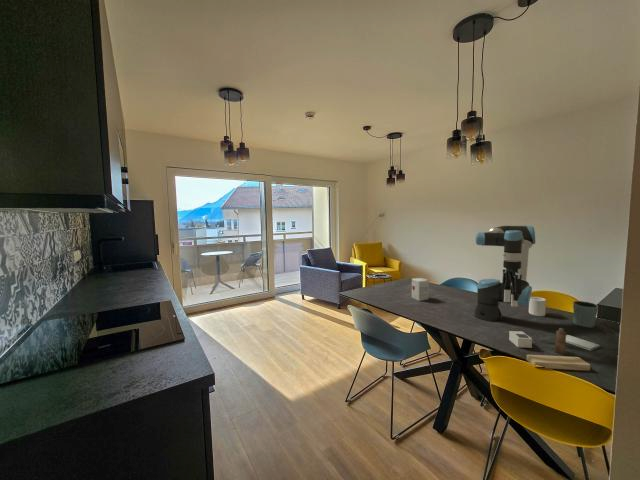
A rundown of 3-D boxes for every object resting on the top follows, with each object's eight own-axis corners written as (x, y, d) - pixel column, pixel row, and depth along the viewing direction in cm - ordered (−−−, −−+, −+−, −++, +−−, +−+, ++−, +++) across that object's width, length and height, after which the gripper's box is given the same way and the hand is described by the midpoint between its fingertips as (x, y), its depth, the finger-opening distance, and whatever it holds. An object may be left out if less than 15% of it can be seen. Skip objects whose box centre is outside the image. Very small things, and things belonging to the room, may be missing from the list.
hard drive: (600, 344, 128) (568, 334, 140) (590, 348, 125) (558, 337, 137) (600, 348, 128) (568, 337, 140) (590, 352, 125) (558, 340, 137)
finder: (509, 339, 138) (509, 330, 137) (522, 340, 137) (522, 330, 136) (517, 347, 130) (518, 337, 129) (531, 347, 129) (532, 338, 128)
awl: (553, 350, 126) (554, 326, 125) (561, 351, 126) (562, 327, 124) (558, 354, 123) (559, 330, 122) (566, 355, 122) (568, 330, 121)
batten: (526, 359, 119) (526, 354, 119) (578, 362, 116) (578, 357, 116) (534, 367, 113) (535, 361, 113) (589, 370, 110) (590, 364, 110)
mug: (551, 313, 170) (552, 298, 169) (540, 317, 165) (541, 301, 164) (537, 309, 177) (537, 295, 176) (525, 312, 172) (526, 297, 171)
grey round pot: (578, 319, 159) (579, 300, 158) (601, 326, 150) (602, 305, 149) (567, 322, 156) (569, 302, 155) (590, 329, 146) (592, 308, 145)
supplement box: (411, 297, 210) (411, 278, 208) (420, 296, 212) (421, 277, 211) (418, 301, 201) (418, 281, 199) (428, 299, 204) (429, 280, 202)
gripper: (495, 257, 149) (494, 298, 152) (514, 264, 130) (512, 310, 132) (510, 257, 148) (508, 298, 150) (531, 264, 129) (529, 310, 131)
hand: (510, 303), depth 141 cm, fingers open, 6 cm apart
